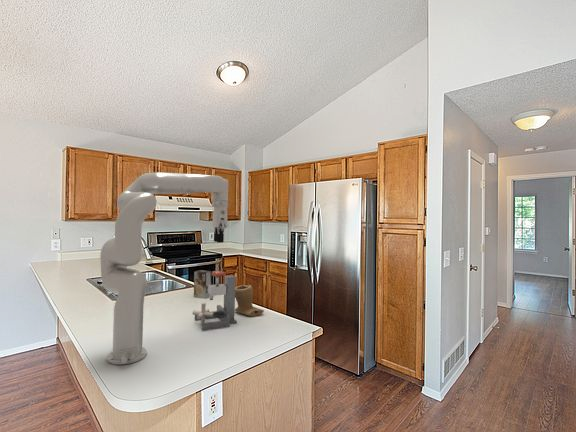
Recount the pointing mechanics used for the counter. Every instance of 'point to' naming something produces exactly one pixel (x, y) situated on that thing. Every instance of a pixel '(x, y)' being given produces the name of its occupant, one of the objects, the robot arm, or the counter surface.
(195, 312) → the pipe connector
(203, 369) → the counter surface
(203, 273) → the coffee box
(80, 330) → the counter surface
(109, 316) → the counter surface
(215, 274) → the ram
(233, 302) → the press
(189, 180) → the robot arm
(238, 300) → the brown boot vase
